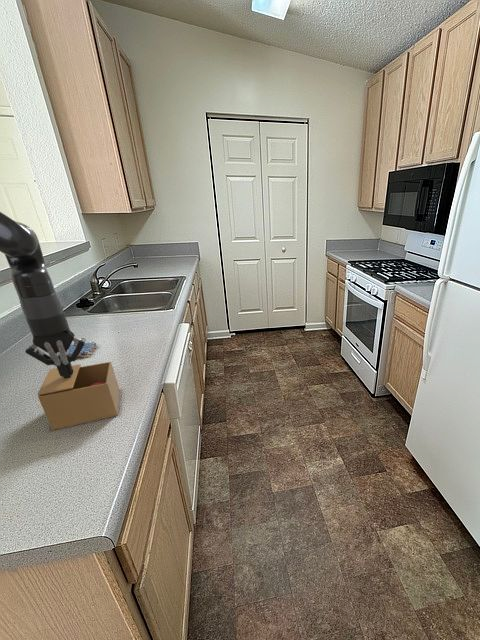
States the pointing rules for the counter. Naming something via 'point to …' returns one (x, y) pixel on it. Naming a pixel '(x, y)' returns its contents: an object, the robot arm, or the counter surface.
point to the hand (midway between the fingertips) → (68, 376)
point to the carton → (84, 398)
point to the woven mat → (83, 349)
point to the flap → (58, 381)
